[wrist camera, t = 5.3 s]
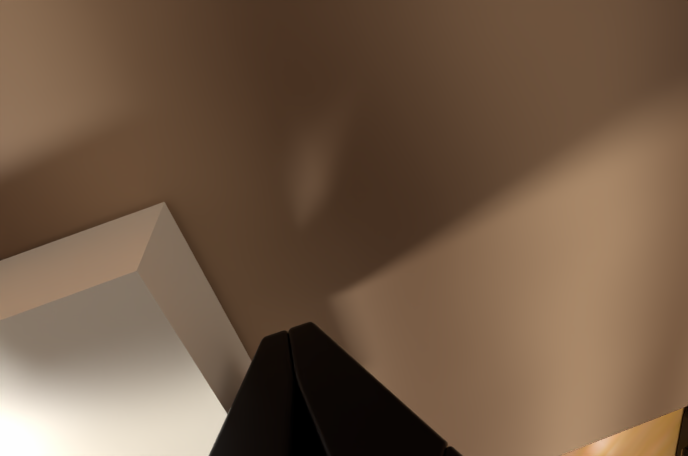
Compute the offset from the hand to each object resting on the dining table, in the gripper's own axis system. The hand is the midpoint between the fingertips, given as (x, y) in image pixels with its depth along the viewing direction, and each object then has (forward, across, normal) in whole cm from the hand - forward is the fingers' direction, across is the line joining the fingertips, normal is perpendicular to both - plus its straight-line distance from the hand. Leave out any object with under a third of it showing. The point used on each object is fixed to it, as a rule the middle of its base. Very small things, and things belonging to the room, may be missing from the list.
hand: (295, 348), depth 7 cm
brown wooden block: (+5, -2, 0) cm, 5 cm away
